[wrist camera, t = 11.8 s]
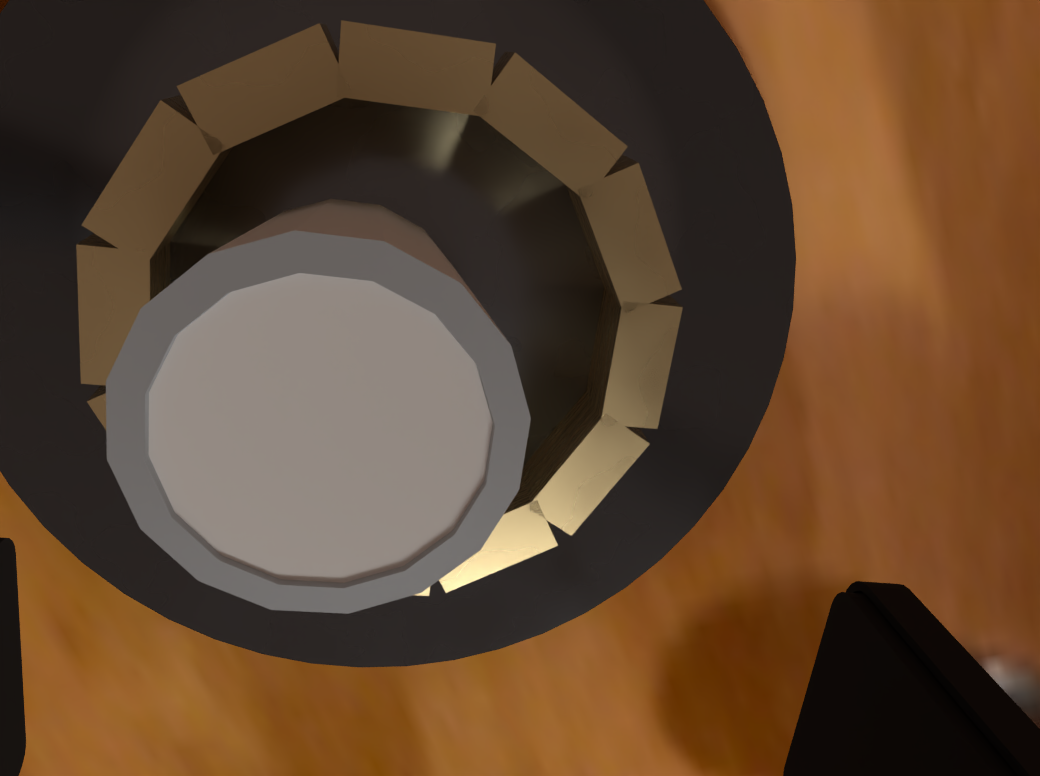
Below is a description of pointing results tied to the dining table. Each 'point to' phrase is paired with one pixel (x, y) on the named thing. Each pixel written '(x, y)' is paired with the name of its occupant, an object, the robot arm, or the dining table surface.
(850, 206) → the dining table surface
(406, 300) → the gray tapered cylinder
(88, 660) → the dining table surface
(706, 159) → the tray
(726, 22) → the dining table surface
